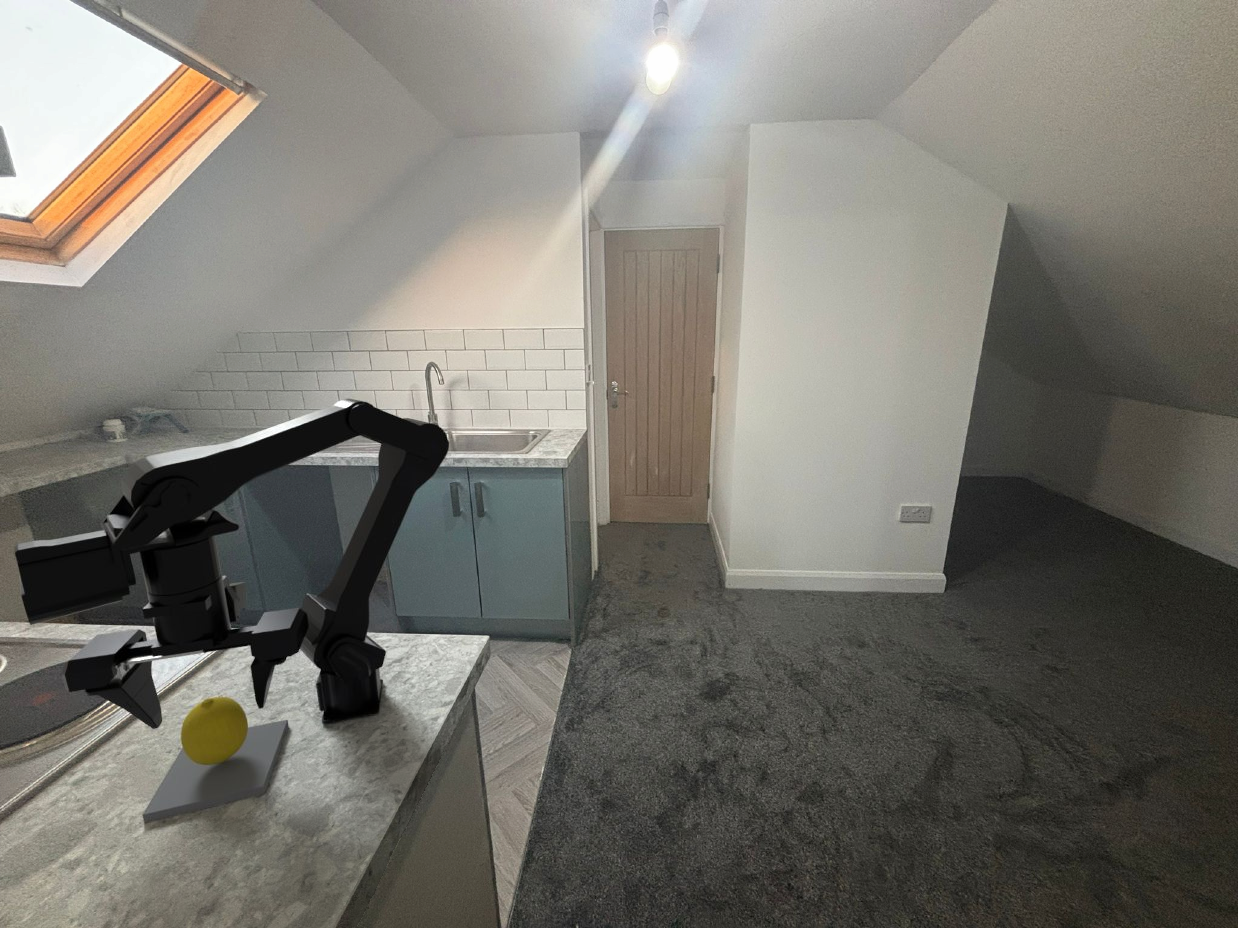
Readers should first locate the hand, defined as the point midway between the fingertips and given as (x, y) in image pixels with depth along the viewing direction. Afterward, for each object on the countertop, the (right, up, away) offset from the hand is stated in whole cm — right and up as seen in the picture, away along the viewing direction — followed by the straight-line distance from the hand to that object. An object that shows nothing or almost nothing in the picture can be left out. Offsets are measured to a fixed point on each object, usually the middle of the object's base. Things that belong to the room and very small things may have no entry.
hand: (211, 715), depth 54 cm
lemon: (0, -6, +2) cm, 6 cm away
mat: (0, -7, +2) cm, 7 cm away
